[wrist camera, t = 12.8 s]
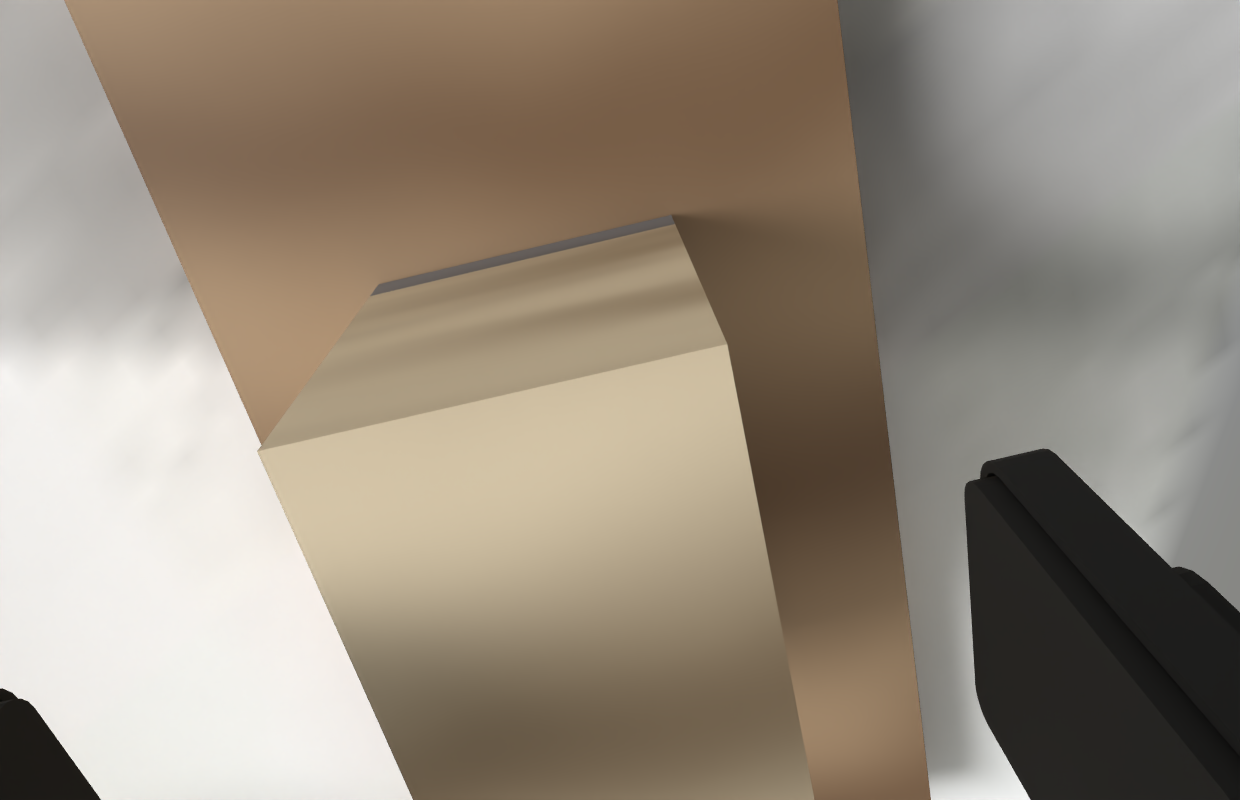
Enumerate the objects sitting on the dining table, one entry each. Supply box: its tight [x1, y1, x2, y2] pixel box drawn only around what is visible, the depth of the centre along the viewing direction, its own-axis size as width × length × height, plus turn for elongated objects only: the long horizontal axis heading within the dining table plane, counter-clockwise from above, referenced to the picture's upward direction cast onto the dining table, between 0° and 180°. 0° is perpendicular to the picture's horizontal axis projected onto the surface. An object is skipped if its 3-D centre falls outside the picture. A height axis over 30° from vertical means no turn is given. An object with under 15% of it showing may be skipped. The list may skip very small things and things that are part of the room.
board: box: [64, 0, 931, 800], centre depth 16 cm, size 20×10×2 cm, turn 13°
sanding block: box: [257, 215, 814, 800], centre depth 12 cm, size 8×4×6 cm, turn 13°
